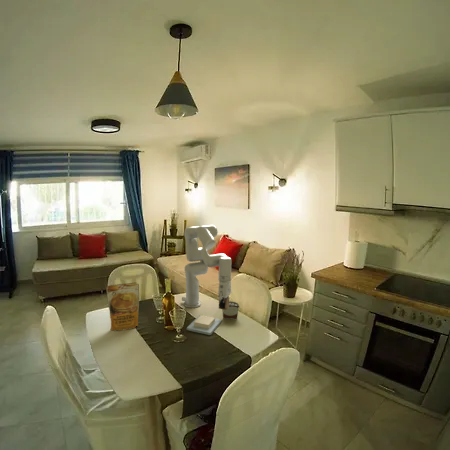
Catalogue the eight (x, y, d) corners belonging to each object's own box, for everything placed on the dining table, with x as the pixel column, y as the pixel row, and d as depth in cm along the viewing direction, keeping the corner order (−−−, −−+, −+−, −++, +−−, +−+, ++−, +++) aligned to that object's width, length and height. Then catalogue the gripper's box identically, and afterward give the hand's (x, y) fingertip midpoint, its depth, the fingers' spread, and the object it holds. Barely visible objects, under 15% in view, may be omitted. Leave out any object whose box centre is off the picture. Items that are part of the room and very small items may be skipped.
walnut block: (218, 308, 173) (218, 299, 172) (221, 305, 177) (221, 295, 176) (226, 310, 171) (226, 300, 170) (229, 306, 175) (229, 297, 174)
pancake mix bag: (108, 327, 179) (106, 284, 175) (140, 322, 186) (138, 281, 181) (107, 332, 173) (105, 288, 169) (140, 327, 179) (139, 284, 175)
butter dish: (186, 330, 177) (186, 323, 177) (199, 317, 194) (199, 311, 193) (210, 335, 172) (210, 328, 171) (221, 321, 188) (221, 316, 188)
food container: (239, 315, 198) (240, 301, 196) (239, 319, 192) (239, 305, 190) (221, 314, 199) (222, 300, 198) (220, 318, 193) (221, 304, 192)
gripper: (225, 283, 162) (224, 313, 165) (235, 274, 178) (234, 301, 180) (213, 281, 164) (212, 311, 167) (224, 272, 180) (223, 299, 183)
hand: (224, 305), depth 174 cm, fingers closed on walnut block, 5 cm apart
